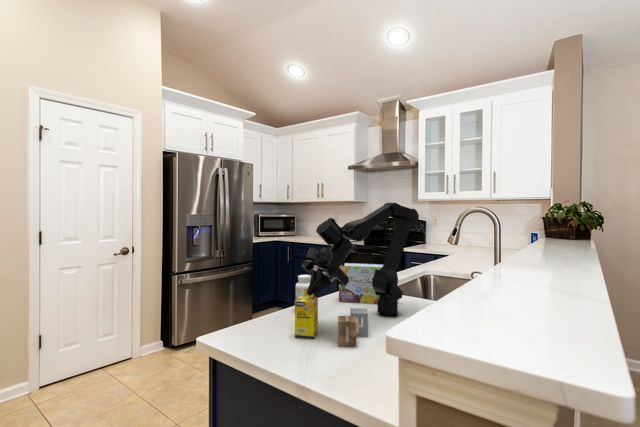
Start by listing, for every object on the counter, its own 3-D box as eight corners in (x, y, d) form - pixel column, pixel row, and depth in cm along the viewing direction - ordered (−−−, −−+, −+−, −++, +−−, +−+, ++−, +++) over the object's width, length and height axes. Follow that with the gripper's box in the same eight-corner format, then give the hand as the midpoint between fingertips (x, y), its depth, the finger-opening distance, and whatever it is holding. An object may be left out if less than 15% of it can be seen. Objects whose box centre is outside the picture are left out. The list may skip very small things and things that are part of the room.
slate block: (366, 330, 107) (366, 308, 107) (367, 337, 102) (367, 313, 102) (350, 330, 108) (350, 308, 107) (350, 337, 102) (350, 313, 102)
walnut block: (355, 340, 100) (355, 315, 100) (356, 347, 95) (356, 321, 95) (338, 339, 100) (338, 315, 100) (338, 347, 95) (338, 321, 95)
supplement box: (314, 339, 101) (314, 302, 100) (294, 337, 102) (294, 301, 102) (318, 331, 107) (318, 296, 106) (299, 330, 108) (299, 295, 108)
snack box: (338, 302, 138) (338, 264, 138) (340, 298, 144) (340, 262, 143) (392, 305, 133) (393, 266, 133) (393, 301, 139) (393, 264, 138)
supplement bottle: (316, 308, 130) (316, 274, 129) (310, 314, 123) (309, 278, 123) (299, 307, 132) (299, 273, 131) (292, 312, 126) (292, 277, 125)
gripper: (306, 235, 114) (276, 272, 109) (340, 240, 99) (308, 284, 93) (326, 257, 119) (298, 293, 113) (361, 264, 104) (332, 308, 98)
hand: (308, 294), depth 104 cm, fingers closed
